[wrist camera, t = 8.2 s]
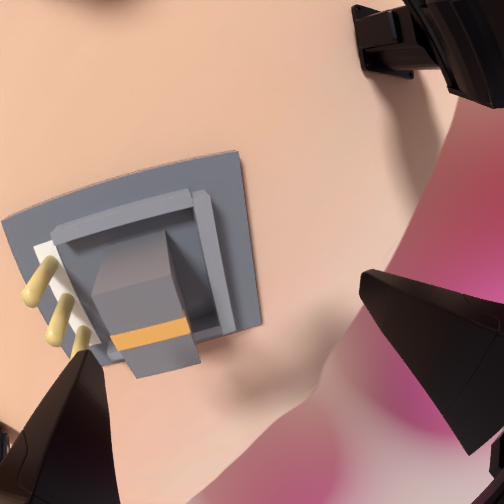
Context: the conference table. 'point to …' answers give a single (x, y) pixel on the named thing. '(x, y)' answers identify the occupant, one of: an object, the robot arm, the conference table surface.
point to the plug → (145, 306)
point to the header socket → (131, 226)
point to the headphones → (4, 445)
